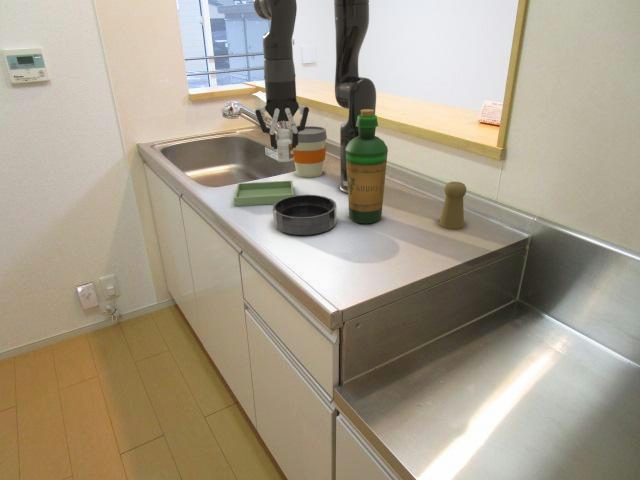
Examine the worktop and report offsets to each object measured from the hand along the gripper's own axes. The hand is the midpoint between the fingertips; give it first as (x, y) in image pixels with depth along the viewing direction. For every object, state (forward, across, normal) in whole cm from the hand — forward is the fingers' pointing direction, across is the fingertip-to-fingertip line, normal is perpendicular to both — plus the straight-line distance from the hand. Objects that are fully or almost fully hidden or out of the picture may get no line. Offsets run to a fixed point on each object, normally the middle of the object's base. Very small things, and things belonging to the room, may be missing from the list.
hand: (284, 147), depth 117 cm
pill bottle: (+4, 0, 0) cm, 4 cm away
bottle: (+18, -20, +8) cm, 28 cm away
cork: (+19, -41, +16) cm, 47 cm away
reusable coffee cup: (+19, -8, -34) cm, 40 cm away
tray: (+18, +7, -13) cm, 23 cm away
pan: (+18, -4, +9) cm, 21 cm away
